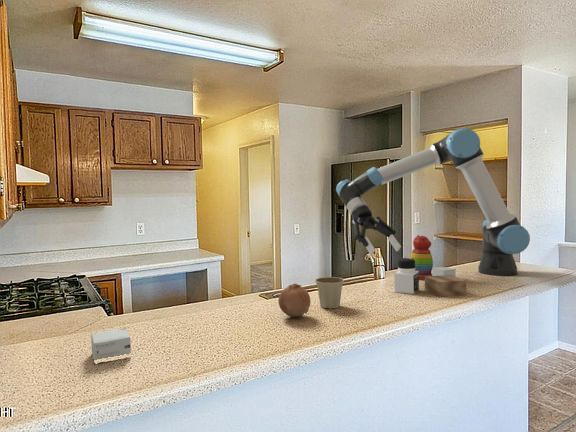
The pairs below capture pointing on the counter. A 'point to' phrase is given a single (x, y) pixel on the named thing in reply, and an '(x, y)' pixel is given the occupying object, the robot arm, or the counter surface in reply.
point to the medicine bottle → (406, 277)
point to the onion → (294, 301)
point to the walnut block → (445, 285)
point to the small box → (110, 343)
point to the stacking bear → (422, 256)
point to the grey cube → (443, 271)
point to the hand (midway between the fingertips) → (386, 250)
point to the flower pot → (329, 291)
